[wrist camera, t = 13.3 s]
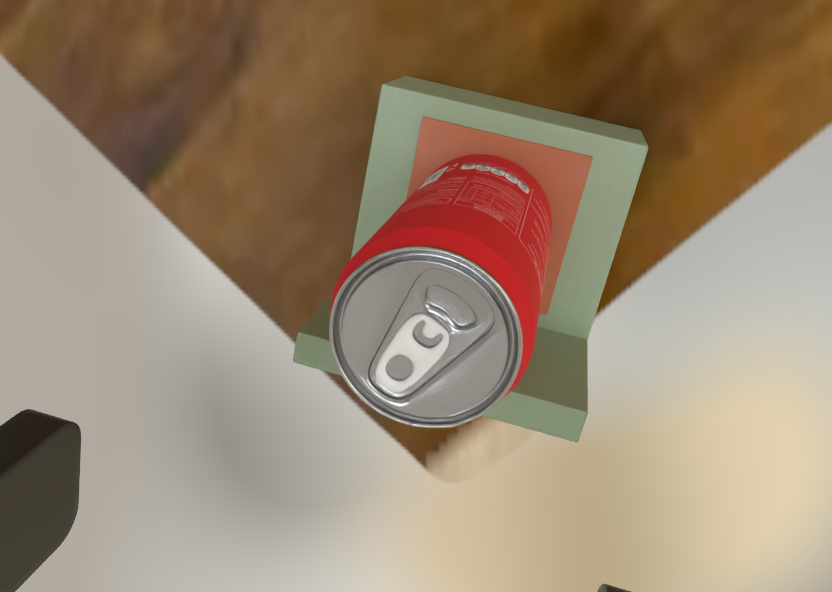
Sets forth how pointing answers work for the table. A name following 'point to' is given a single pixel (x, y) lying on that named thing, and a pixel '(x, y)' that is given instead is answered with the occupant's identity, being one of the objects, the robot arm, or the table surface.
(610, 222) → the shelf stand
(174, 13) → the table surface
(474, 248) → the beverage can
